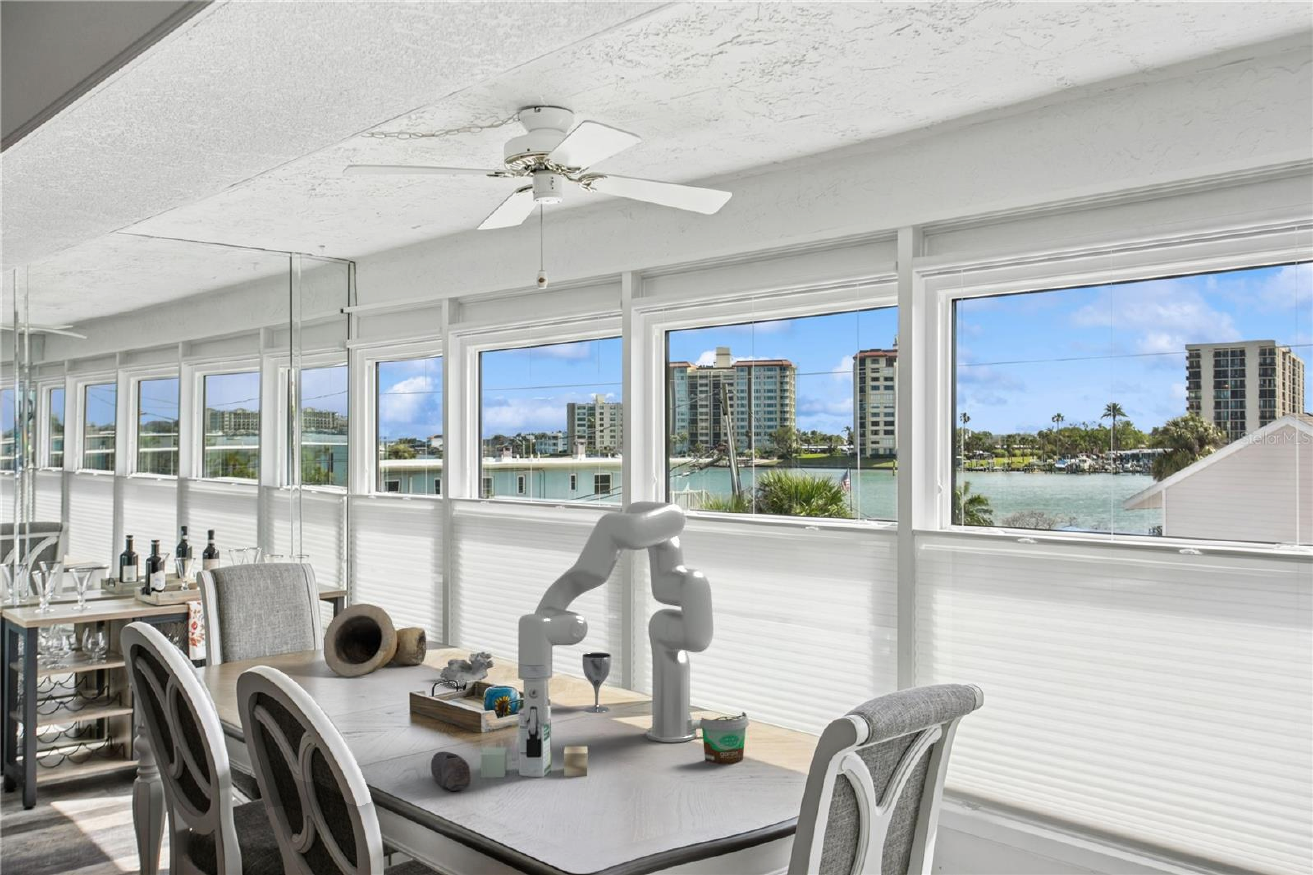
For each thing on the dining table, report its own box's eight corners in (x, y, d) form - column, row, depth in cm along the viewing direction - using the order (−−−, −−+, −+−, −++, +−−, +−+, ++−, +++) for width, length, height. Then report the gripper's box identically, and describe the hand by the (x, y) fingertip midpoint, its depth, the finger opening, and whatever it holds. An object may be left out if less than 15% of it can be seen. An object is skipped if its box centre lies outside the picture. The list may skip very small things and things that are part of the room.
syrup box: (543, 777, 210) (543, 710, 210) (517, 776, 211) (518, 709, 211) (551, 769, 215) (551, 704, 216) (526, 767, 217) (526, 702, 217)
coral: (499, 684, 298) (499, 652, 298) (460, 691, 289) (460, 658, 289) (470, 675, 311) (470, 644, 311) (432, 682, 302) (432, 650, 302)
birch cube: (587, 768, 216) (587, 746, 216) (586, 776, 211) (586, 753, 211) (565, 769, 216) (565, 746, 216) (564, 776, 211) (564, 753, 211)
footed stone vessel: (426, 687, 332) (409, 675, 305) (341, 687, 331) (316, 676, 303) (431, 619, 341) (415, 602, 313) (348, 619, 340) (324, 602, 312)
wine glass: (577, 711, 266) (577, 656, 266) (590, 704, 273) (590, 651, 273) (603, 714, 263) (603, 658, 263) (615, 707, 270) (615, 653, 270)
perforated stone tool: (423, 777, 210) (423, 745, 210) (446, 773, 213) (446, 741, 213) (448, 797, 198) (449, 763, 198) (473, 793, 200) (473, 759, 201)
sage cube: (506, 770, 215) (506, 747, 215) (504, 777, 210) (504, 754, 210) (484, 770, 215) (484, 748, 215) (481, 777, 210) (481, 754, 210)
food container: (713, 769, 216) (713, 724, 216) (699, 761, 221) (699, 717, 222) (759, 761, 222) (759, 717, 222) (744, 754, 227) (744, 711, 227)
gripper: (550, 679, 205) (549, 764, 205) (554, 662, 223) (554, 740, 222) (514, 679, 205) (514, 764, 204) (521, 662, 222) (521, 741, 222)
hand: (535, 751), depth 213 cm, fingers closed on syrup box, 6 cm apart
